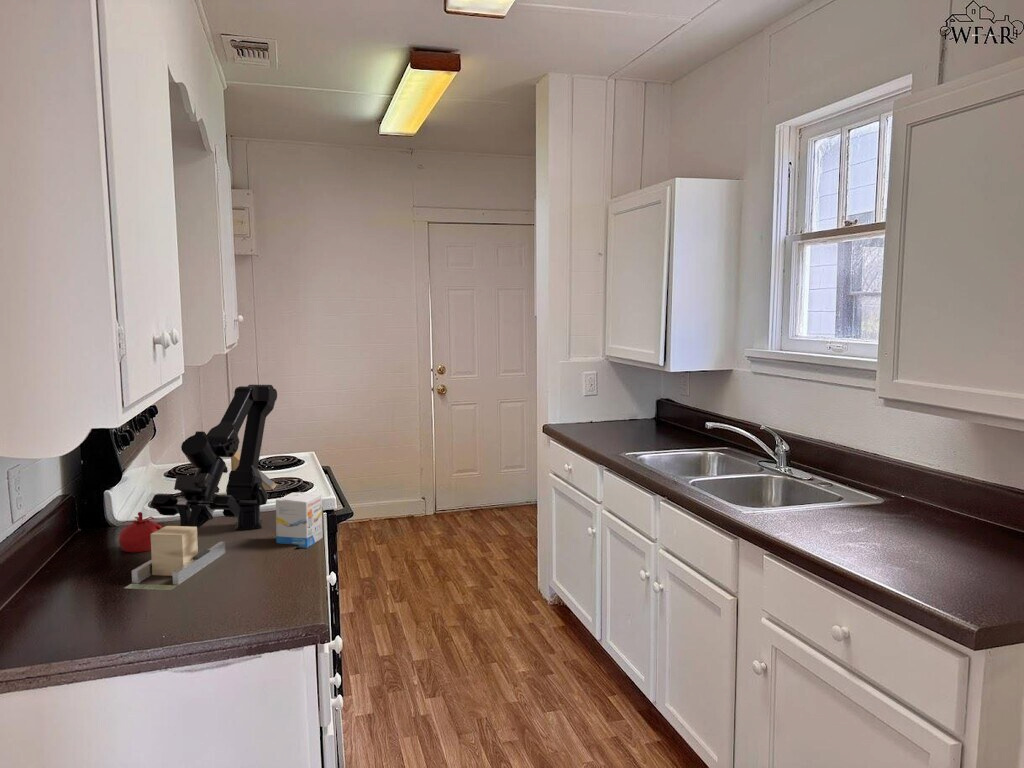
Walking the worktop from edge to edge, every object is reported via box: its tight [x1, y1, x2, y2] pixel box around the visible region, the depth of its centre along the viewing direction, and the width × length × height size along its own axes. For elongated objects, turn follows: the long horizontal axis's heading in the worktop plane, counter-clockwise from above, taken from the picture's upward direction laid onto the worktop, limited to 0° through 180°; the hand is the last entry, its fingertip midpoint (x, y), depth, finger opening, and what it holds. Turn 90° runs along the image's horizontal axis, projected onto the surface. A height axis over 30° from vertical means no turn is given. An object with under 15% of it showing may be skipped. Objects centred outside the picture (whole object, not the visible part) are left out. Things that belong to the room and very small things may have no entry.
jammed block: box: [150, 525, 199, 577], centre depth 152 cm, size 6×7×9 cm
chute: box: [124, 541, 226, 591], centre depth 154 cm, size 26×14×4 cm, turn 176°
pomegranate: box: [118, 511, 163, 554], centre depth 167 cm, size 10×10×9 cm
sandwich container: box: [230, 450, 277, 490], centre depth 219 cm, size 9×15×15 cm, turn 106°
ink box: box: [275, 491, 323, 549], centre depth 174 cm, size 9×8×12 cm
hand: (182, 538), depth 155 cm, fingers closed, pressing on jammed block
